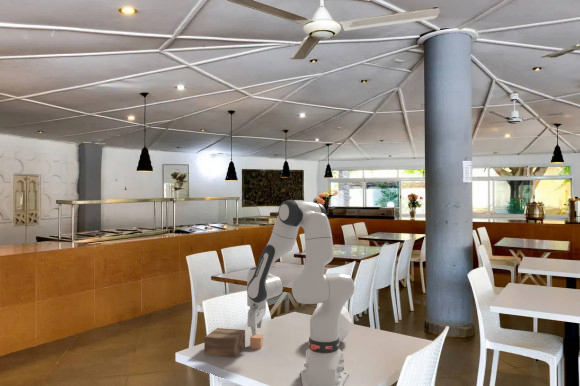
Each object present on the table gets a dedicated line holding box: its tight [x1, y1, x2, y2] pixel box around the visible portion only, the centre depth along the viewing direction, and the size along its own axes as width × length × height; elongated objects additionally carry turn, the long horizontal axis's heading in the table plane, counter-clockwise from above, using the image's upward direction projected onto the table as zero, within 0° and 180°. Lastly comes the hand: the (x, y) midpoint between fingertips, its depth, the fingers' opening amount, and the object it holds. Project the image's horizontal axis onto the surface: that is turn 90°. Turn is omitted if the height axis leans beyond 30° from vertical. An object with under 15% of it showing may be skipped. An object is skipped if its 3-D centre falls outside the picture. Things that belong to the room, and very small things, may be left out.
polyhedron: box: [312, 303, 353, 343], centre depth 207 cm, size 19×20×20 cm
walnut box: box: [203, 327, 246, 358], centre depth 196 cm, size 14×14×8 cm
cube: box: [249, 333, 264, 350], centre depth 201 cm, size 5×5×5 cm
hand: (256, 330), depth 202 cm, fingers open, 8 cm apart
